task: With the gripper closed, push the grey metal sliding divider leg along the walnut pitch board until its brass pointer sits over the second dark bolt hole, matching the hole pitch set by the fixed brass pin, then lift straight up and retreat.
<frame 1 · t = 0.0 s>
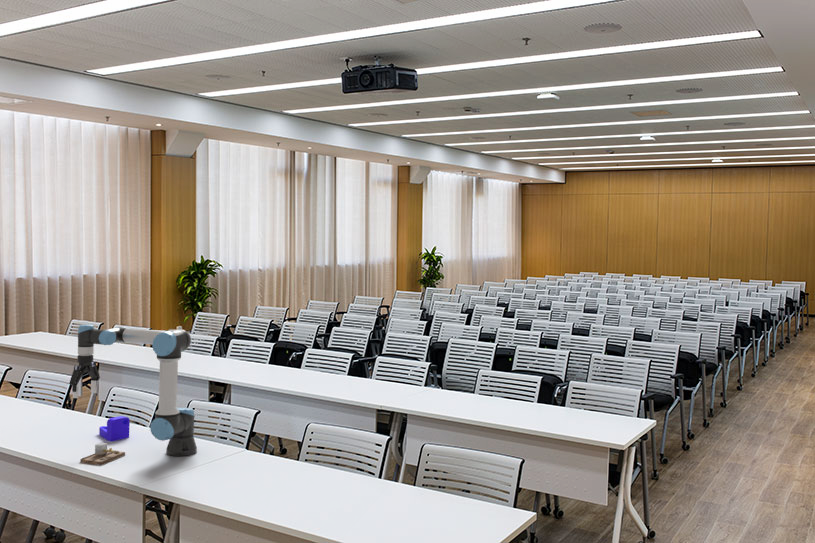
hand: (84, 395, 373), 28 cm above the table, fingers open, 13 cm apart
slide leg: (105, 449, 359), point 4 cm above the table, slide at 0.0 cm
bracket: (110, 437, 399), on the table
pitch board: (103, 458, 358), on the table
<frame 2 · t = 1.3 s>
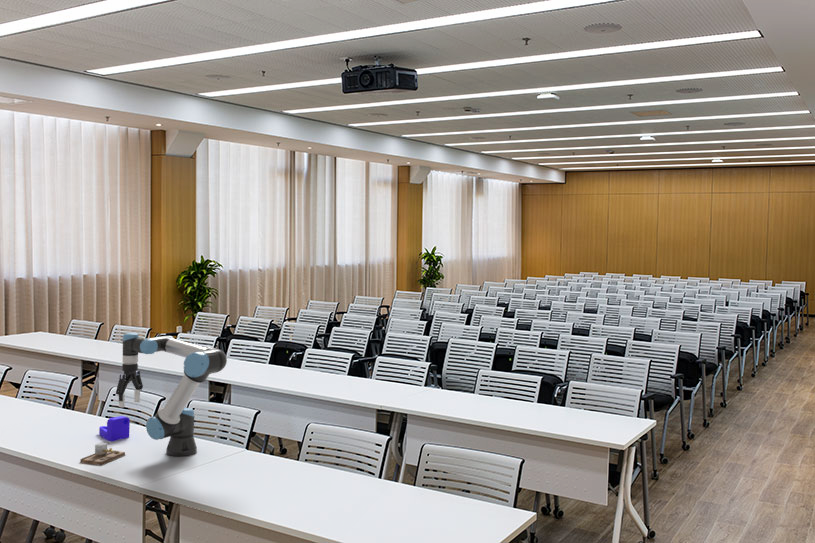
hand: (129, 404, 372), 24 cm above the table, fingers open, 12 cm apart
nothing on the table moved.
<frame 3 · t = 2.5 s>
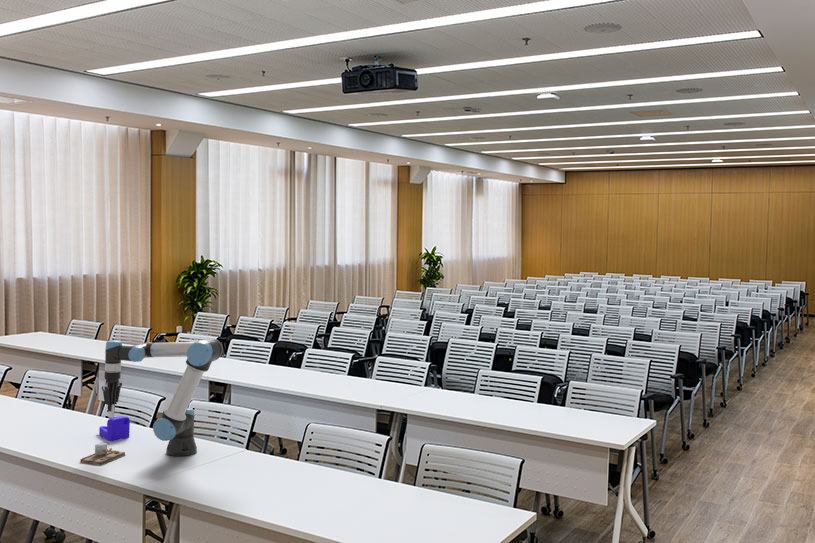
hand: (110, 417, 366), 19 cm above the table, fingers closed
nothing on the table moved.
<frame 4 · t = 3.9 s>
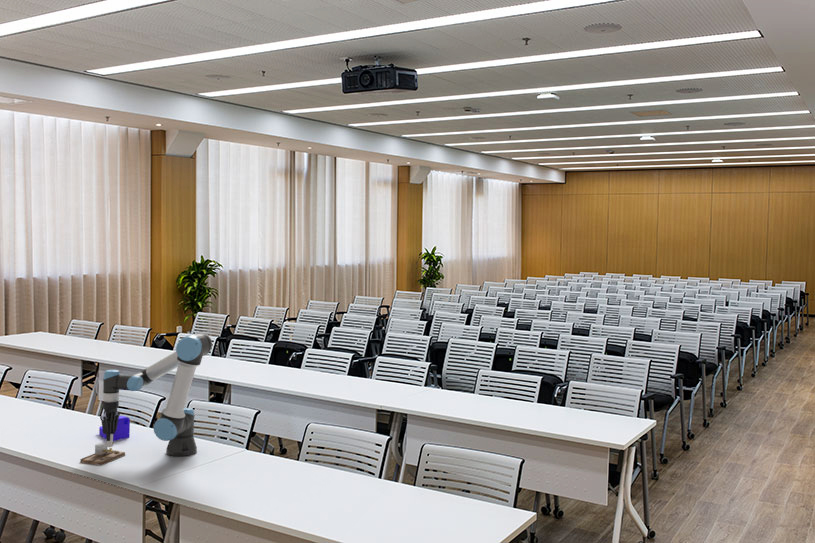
hand: (109, 446, 366), 4 cm above the table, fingers closed
nothing on the table moved.
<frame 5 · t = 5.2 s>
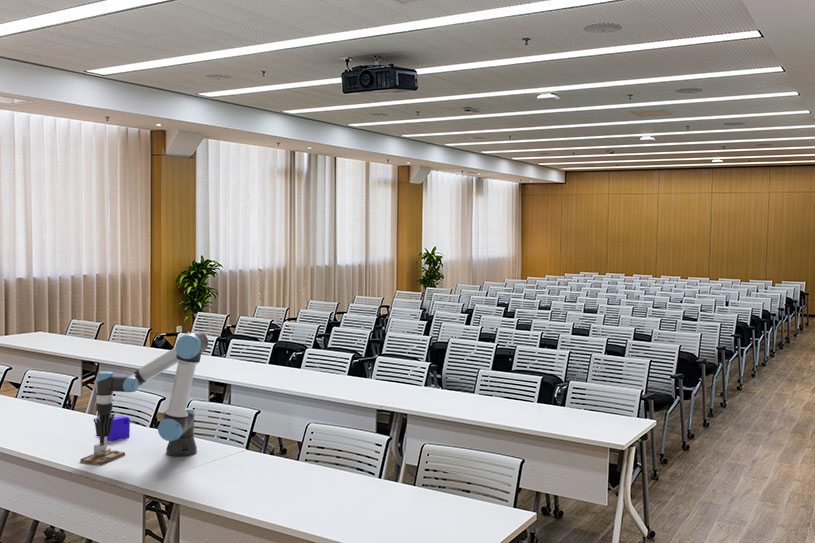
hand: (103, 449, 361), 4 cm above the table, fingers closed
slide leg: (104, 450, 358), point 4 cm above the table, slide at 0.9 cm, touching gripper
everything else where it was.
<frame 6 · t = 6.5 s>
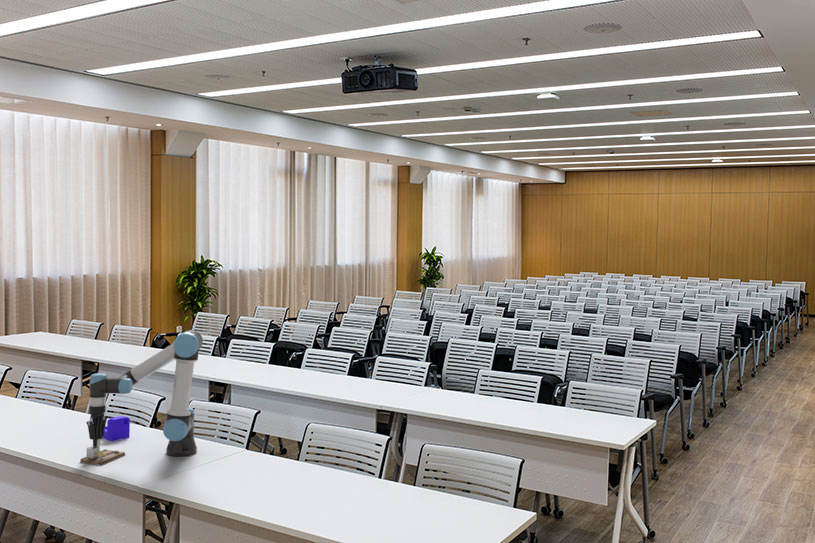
hand: (96, 452, 356), 4 cm above the table, fingers closed
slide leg: (97, 452, 353), point 4 cm above the table, slide at 6.2 cm, touching gripper
everything else where it was.
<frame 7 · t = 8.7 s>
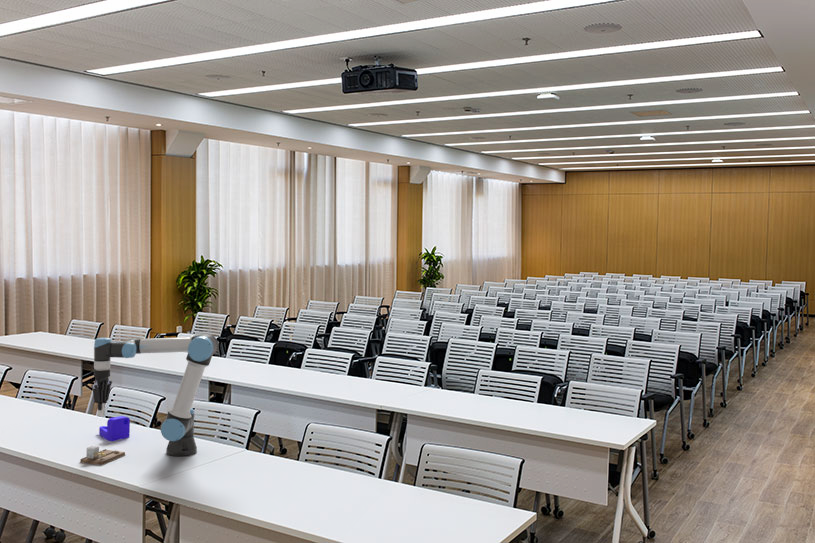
hand: (101, 416, 358), 21 cm above the table, fingers closed
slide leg: (97, 452, 353), point 4 cm above the table, slide at 6.2 cm
everything else where it was.
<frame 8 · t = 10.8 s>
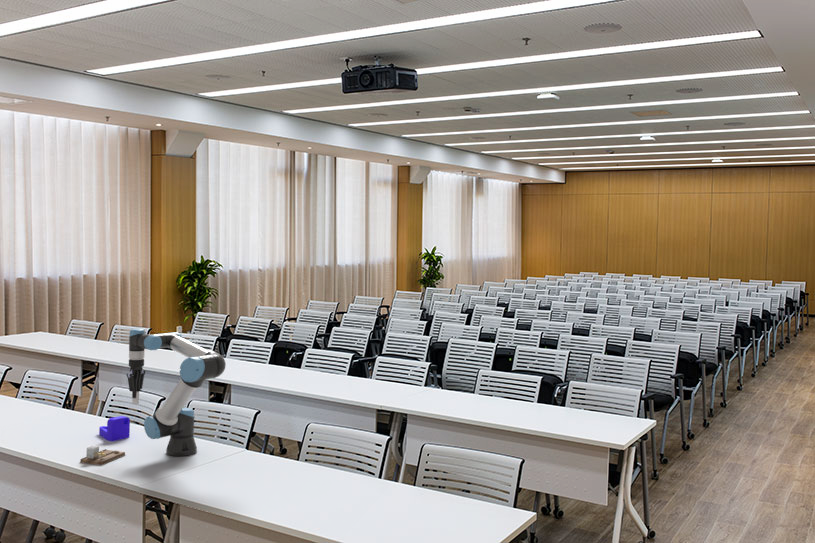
hand: (135, 403, 373), 24 cm above the table, fingers closed
nothing on the table moved.
at the end: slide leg slide at 6.2 cm; the gripper is holding nothing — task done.
